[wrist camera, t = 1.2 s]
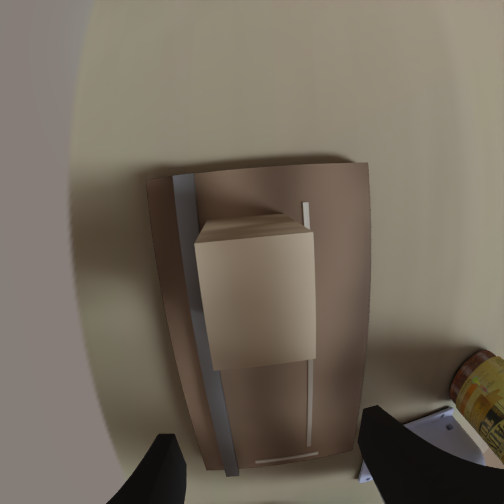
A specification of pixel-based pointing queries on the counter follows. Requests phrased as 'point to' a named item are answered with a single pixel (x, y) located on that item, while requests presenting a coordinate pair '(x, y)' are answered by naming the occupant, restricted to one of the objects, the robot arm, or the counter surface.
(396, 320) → the counter surface
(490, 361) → the sauce bottle
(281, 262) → the maple block
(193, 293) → the walnut board
